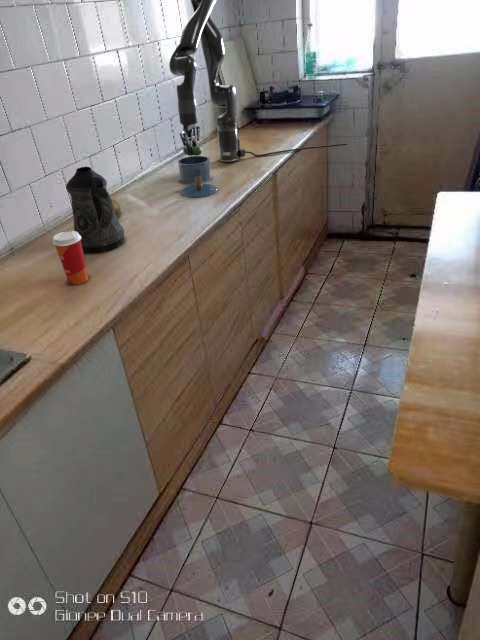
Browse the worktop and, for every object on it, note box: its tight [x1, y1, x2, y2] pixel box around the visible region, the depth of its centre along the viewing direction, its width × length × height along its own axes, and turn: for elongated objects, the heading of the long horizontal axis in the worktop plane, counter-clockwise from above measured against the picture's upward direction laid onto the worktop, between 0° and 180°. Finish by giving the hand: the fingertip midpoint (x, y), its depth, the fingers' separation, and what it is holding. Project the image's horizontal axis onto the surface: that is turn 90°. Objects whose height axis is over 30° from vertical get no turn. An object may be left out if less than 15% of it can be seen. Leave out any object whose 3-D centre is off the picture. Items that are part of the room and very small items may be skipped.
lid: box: [181, 176, 218, 198], centre depth 194 cm, size 15×15×7 cm
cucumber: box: [182, 146, 203, 156], centre depth 204 cm, size 9×3×3 cm, turn 66°
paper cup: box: [52, 230, 89, 286], centre depth 135 cm, size 8×8×14 cm
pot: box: [177, 155, 212, 184], centre depth 208 cm, size 14×14×8 cm
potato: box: [112, 199, 121, 216], centre depth 178 cm, size 8×13×8 cm, turn 161°
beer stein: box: [65, 166, 125, 255], centre depth 152 cm, size 16×19×25 cm
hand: (192, 153), depth 204 cm, fingers closed on cucumber, 3 cm apart
